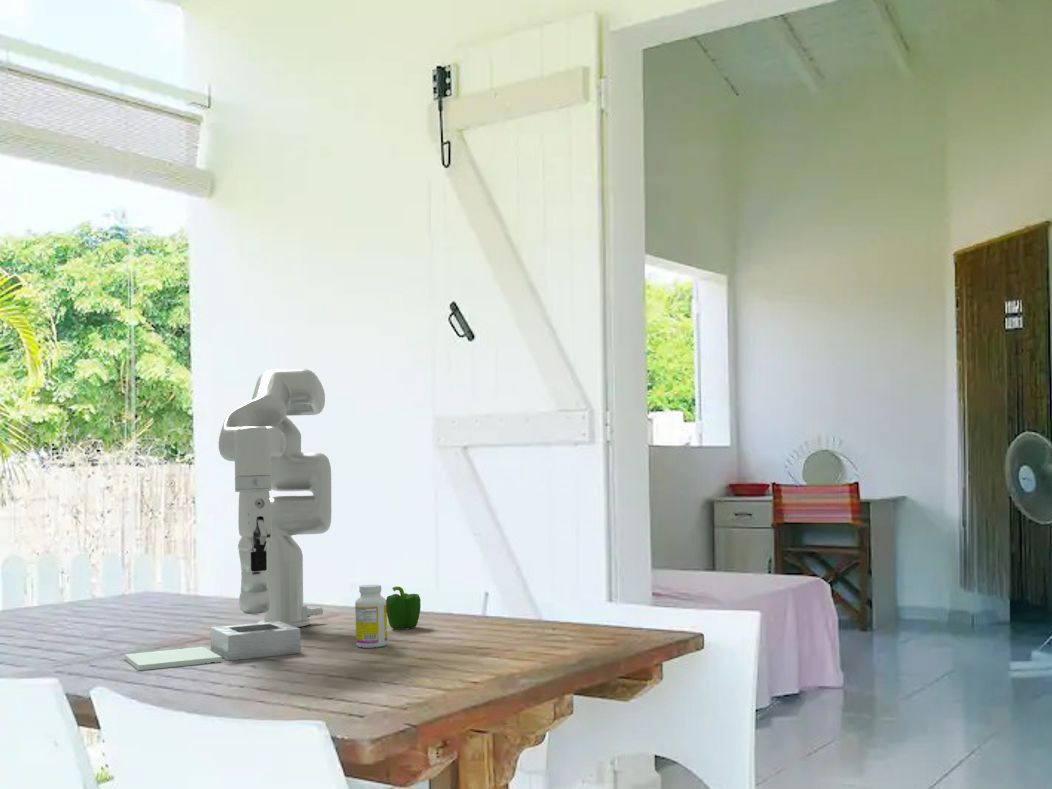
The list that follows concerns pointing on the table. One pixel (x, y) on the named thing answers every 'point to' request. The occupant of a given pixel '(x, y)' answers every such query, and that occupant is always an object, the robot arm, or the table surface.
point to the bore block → (255, 640)
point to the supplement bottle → (371, 617)
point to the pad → (172, 658)
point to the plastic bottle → (252, 581)
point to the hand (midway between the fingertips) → (254, 568)
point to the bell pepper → (403, 609)
